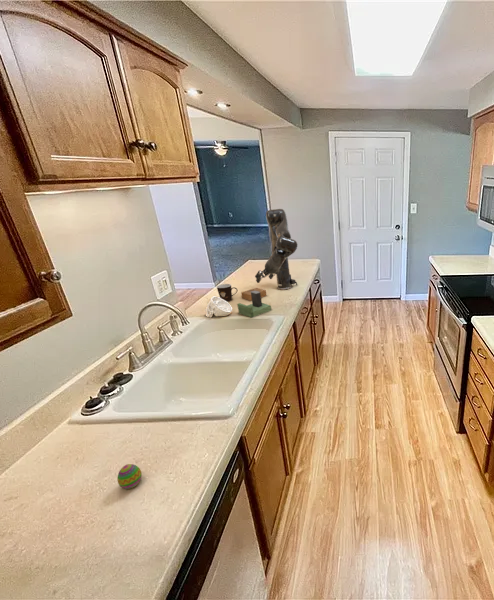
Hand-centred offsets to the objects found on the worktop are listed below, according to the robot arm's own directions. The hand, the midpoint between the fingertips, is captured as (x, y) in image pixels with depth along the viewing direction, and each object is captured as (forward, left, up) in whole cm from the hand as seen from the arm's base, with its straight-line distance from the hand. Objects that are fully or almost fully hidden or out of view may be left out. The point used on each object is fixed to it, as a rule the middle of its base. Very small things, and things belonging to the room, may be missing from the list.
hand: (263, 279), depth 189 cm
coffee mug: (+2, -38, -20) cm, 43 cm away
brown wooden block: (-12, -30, -20) cm, 39 cm away
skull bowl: (+19, -20, -20) cm, 34 cm away
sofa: (+4, -7, -20) cm, 22 cm away
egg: (+96, +68, -20) cm, 119 cm away
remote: (+2, -7, -17) cm, 19 cm away
